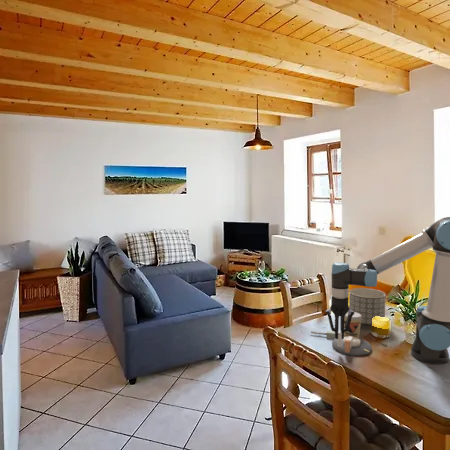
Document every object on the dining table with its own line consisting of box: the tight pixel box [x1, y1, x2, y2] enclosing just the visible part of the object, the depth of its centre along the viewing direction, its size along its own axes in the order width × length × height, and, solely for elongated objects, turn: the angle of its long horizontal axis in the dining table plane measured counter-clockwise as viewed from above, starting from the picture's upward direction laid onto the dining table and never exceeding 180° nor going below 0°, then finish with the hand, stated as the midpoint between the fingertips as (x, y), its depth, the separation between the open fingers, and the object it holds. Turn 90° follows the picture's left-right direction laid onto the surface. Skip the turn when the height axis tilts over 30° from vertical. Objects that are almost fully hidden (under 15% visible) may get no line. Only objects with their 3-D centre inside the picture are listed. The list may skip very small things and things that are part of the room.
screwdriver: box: [310, 330, 336, 340], centre depth 186 cm, size 14×3×3 cm, turn 69°
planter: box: [348, 287, 387, 327], centre depth 202 cm, size 19×19×18 cm
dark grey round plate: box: [331, 337, 372, 357], centre depth 173 cm, size 18×18×2 cm
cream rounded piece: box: [343, 336, 361, 353], centre depth 169 cm, size 15×8×5 cm, turn 150°
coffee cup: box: [344, 312, 362, 339], centre depth 185 cm, size 9×9×12 cm
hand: (339, 345), depth 166 cm, fingers closed
